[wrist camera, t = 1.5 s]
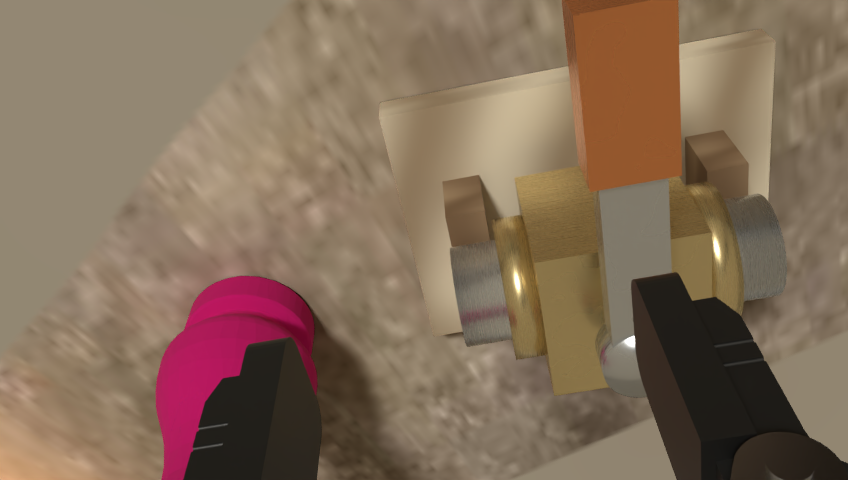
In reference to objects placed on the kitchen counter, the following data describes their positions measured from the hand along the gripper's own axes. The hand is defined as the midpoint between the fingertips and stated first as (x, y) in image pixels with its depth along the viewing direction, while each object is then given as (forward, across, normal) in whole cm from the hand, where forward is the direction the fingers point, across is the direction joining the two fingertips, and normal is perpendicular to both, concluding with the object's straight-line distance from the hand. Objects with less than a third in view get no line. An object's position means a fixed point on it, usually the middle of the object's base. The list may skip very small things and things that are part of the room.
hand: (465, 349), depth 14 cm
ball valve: (+18, -5, +10) cm, 21 cm away
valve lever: (+11, -5, +5) cm, 13 cm away
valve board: (+22, -5, +10) cm, 24 cm away
